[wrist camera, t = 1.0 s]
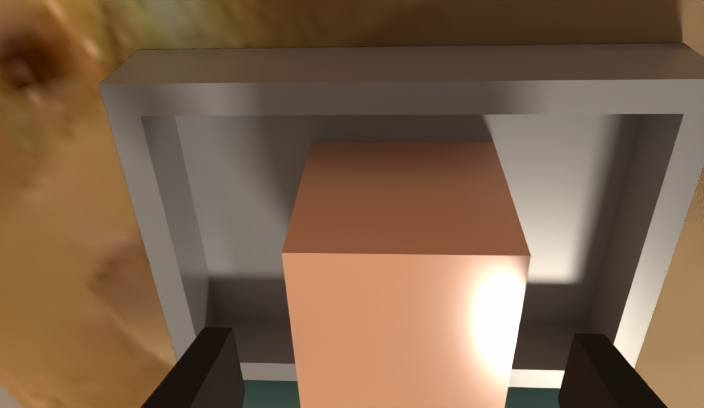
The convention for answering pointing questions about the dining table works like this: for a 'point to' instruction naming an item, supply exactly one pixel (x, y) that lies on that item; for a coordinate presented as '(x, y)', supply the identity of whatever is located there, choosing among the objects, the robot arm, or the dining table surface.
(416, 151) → the terracotta block
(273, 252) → the grey bin
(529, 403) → the teal bin
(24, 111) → the dining table surface
